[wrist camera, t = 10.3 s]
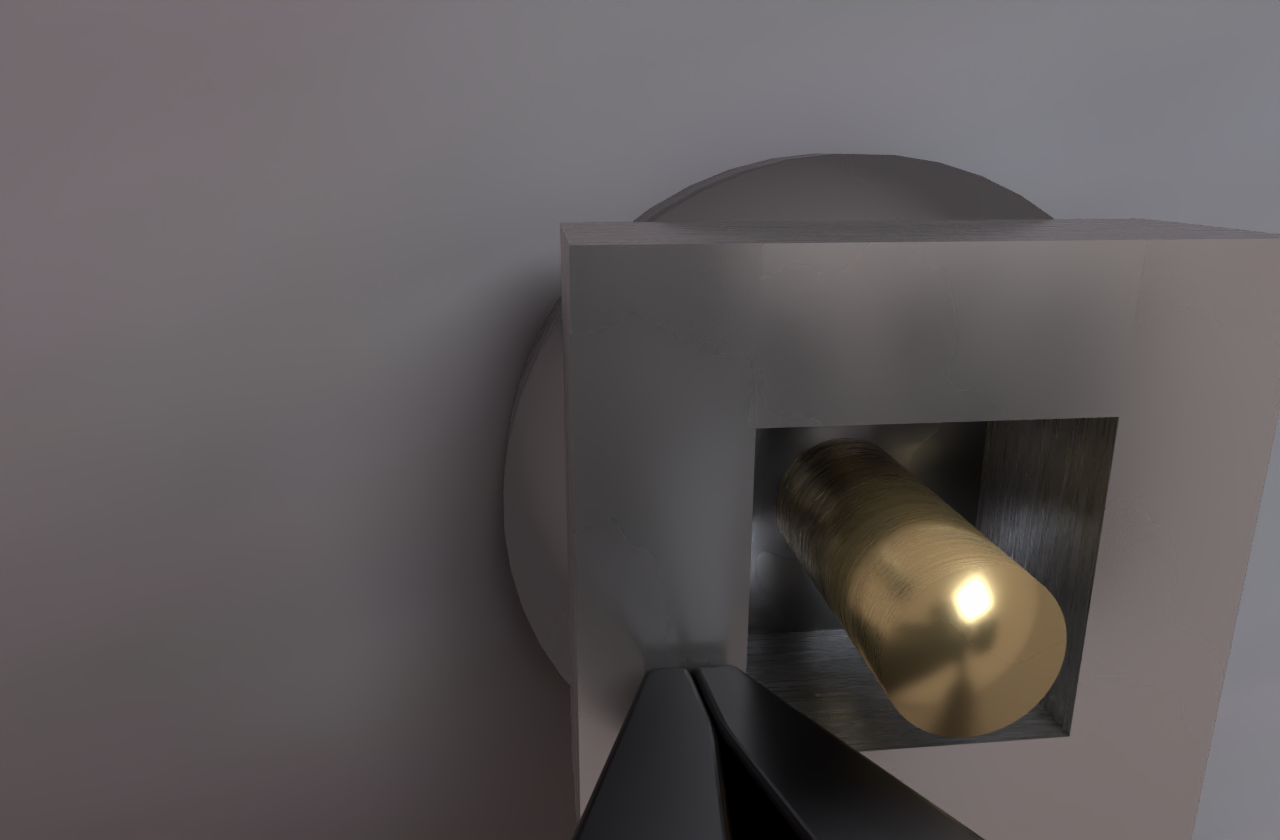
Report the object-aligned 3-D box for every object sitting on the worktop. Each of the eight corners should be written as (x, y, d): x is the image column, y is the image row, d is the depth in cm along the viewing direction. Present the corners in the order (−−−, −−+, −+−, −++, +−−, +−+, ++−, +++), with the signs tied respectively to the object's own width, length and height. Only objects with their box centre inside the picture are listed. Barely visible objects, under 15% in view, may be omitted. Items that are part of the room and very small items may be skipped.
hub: (1162, 580, 13) (1484, 800, 9) (663, 816, 13) (730, 1150, 9) (994, 37, 11) (1320, -42, 6) (388, 333, 11) (291, 459, 7)
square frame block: (1066, 722, 12) (1188, 853, 10) (571, 757, 12) (582, 907, 9) (1142, 219, 10) (1315, 238, 8) (560, 222, 10) (569, 245, 7)
